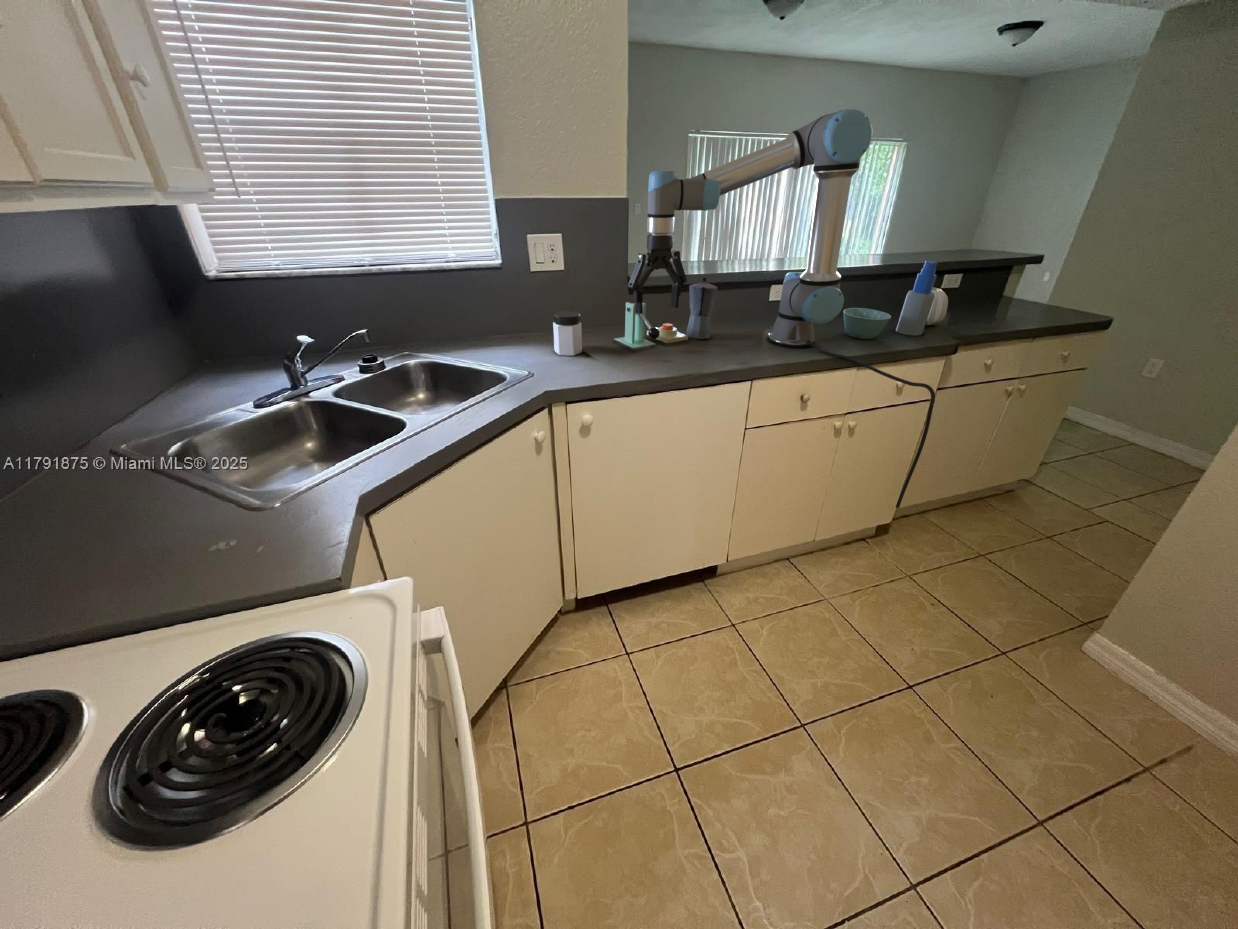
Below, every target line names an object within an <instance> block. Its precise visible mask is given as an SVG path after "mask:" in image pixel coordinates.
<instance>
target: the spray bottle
mask: <svg viewBox="0 0 1238 929" xmlns="http://www.w3.org/2000/svg"><path fill="white" fill-rule="evenodd" d="M937 265H938V261H935V260H925V261H924V264H923V267H922V268H921V270H920V272H918V273H917V275H916V279H915V282H914V285H913V287H912V288H913V289H910V290H908V292H907V293H906V295H905V299H904V302H903V306H902V309H901V312H900V315H899V319H898V322H897V326H896V328H895V332H896V333H898V334H902V335H906V336H921V335H923V332H924V330H925V326H926V325H925V324H926V321H927V318H928V315H929V312H930V309H931V306H932V303H933V300H934V297H935V296H934V295H935V293H933V292H931V291H932V288H934V285H935V282H936V279H937V274H936V271H937Z"/></svg>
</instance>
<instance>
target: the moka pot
mask: <svg viewBox="0 0 1238 929" xmlns="http://www.w3.org/2000/svg"><path fill="white" fill-rule="evenodd" d="M701 280H702V282H698V283H693V284H690V285H689V309H690V312H689V313H690V314H689V320H688V324H687V327H686V331H685V335H687V336H688V338H691V339H693V340H694V339H695V340H707V339H710V338H711V330H712V329H711V325H712V324H711V314H712V310H713V309H714V305H715V301H716V297H717V292H718V286H716V285H714V284H711V283H708V282H707V280H708V278H707V277H702V279H701Z"/></svg>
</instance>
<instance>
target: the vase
mask: <svg viewBox="0 0 1238 929" xmlns="http://www.w3.org/2000/svg"><path fill="white" fill-rule="evenodd" d="M931 292H933V293H935V295H934V296H935V297H934V300H933V303H932V306H931V309H930V312H929V315H928V318H927V321H926V324H925V326H935V325H937V324H939V323H941V322H942V321H944V320H945V317H946V315H947V311H948V307H949V297H948V295H947V294H946V292H945V291H944V290H942V289H941V288H939V287H938V288H937V287H933V288H932V291H931Z"/></svg>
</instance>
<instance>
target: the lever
mask: <svg viewBox="0 0 1238 929" xmlns="http://www.w3.org/2000/svg"><path fill="white" fill-rule="evenodd" d="M631 303H632V304H635V302H631ZM635 314H637V315H638V316H639V317H640V319H641V320H642V322H643V323H644V324H645V328H647V329H648V330H647V331H649V332H648V335H647V336H648V337H649V338H650V339H652V340H657V339H656V338H658V337H659V335H660V331H659V329H658V328H659V327H656V326H654V327H653V326H652V325H651V324H650V322H649V320H648V319H647V318H646V316H645V317H644V315H643V314H639V313H636V312H635Z"/></svg>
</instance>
